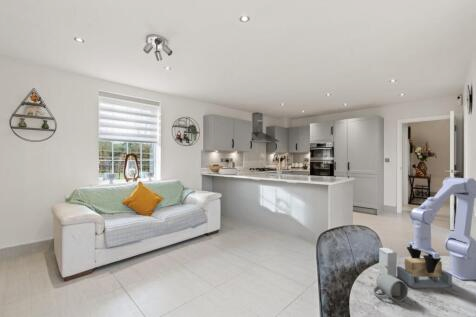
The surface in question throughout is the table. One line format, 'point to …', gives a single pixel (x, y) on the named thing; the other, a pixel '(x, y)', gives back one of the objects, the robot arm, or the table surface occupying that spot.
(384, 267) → the skincare box
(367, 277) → the table surface
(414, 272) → the oak plank
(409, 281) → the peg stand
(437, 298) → the table surface
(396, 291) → the ceramic mug
